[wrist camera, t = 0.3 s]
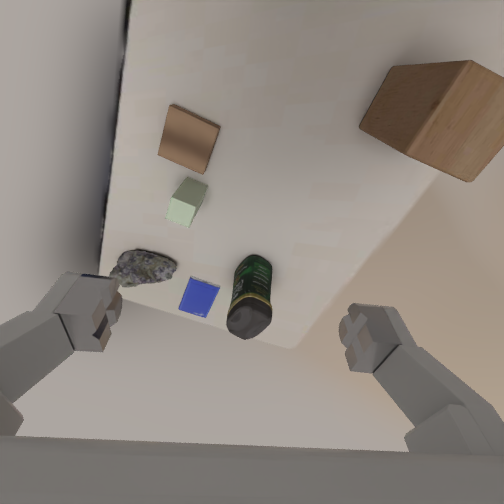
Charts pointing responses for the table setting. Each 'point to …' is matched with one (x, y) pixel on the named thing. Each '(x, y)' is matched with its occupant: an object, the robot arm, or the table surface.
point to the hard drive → (198, 297)
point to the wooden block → (441, 115)
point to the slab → (188, 139)
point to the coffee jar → (250, 298)
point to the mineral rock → (142, 268)
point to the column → (186, 202)
